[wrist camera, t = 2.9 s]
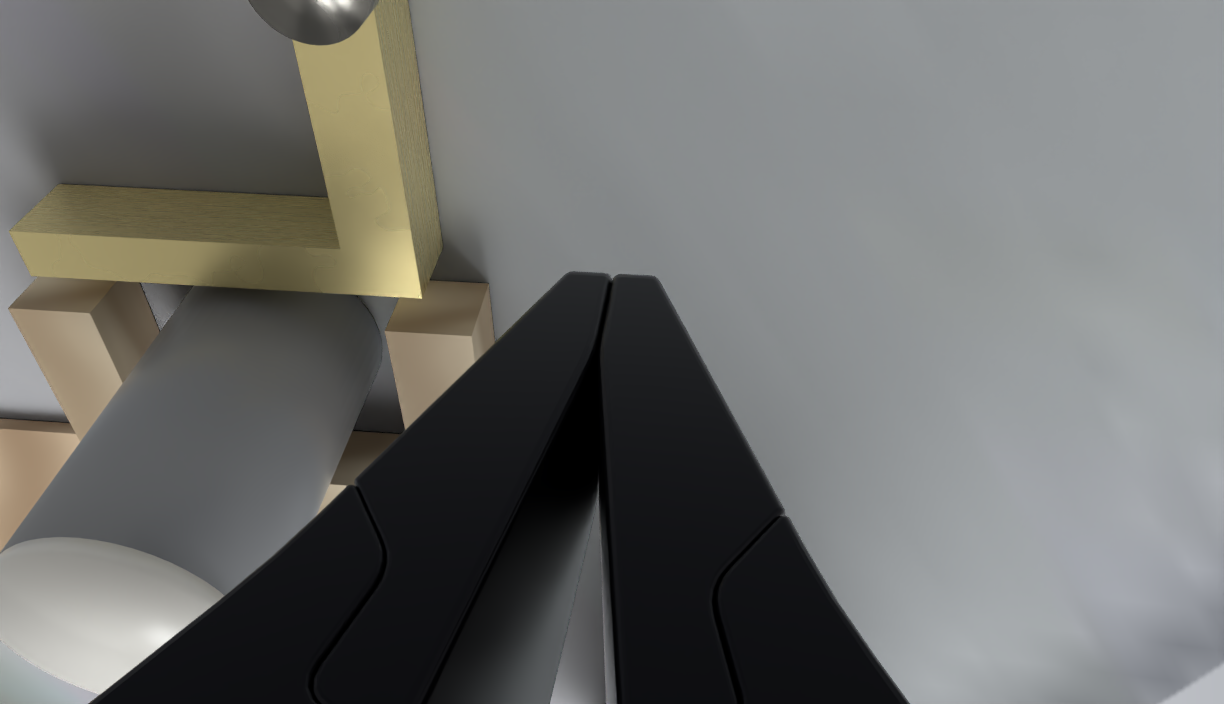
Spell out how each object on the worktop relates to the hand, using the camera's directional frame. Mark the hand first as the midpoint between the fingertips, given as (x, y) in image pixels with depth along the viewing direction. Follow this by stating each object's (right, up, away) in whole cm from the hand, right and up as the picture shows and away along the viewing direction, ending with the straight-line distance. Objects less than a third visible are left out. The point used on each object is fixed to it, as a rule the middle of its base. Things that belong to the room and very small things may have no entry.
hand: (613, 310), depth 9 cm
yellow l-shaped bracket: (-8, +6, +10) cm, 15 cm away
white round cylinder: (-8, 0, +15) cm, 17 cm away
